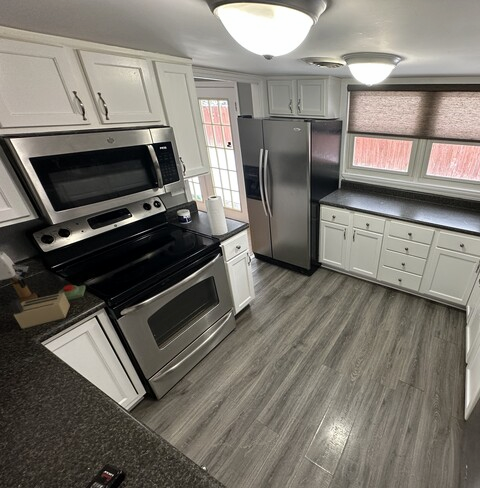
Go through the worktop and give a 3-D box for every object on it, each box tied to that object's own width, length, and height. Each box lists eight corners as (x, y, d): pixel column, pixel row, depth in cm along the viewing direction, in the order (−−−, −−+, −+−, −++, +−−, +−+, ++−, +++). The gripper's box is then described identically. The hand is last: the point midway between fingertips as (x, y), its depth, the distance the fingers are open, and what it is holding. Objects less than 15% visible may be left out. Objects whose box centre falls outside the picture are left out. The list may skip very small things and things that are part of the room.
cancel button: (63, 292, 130) (62, 289, 129) (65, 289, 133) (63, 286, 132) (73, 290, 132) (71, 287, 131) (74, 287, 134) (73, 284, 134)
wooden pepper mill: (20, 306, 125) (1, 274, 117) (17, 301, 128) (-2, 270, 120) (39, 299, 130) (23, 268, 122) (35, 295, 133) (19, 264, 125)
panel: (56, 303, 128) (53, 297, 126) (60, 294, 135) (57, 287, 133) (83, 297, 133) (80, 291, 131) (86, 288, 139) (83, 282, 138)
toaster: (22, 329, 112) (13, 314, 109) (29, 315, 120) (21, 301, 116) (65, 318, 119) (58, 304, 115) (70, 306, 126) (63, 292, 123)
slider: (15, 314, 109) (9, 304, 107) (17, 310, 111) (12, 300, 109) (21, 312, 110) (15, 303, 108) (23, 308, 112) (18, 299, 110)
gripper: (-58, 262, 91) (-30, 301, 99) (13, 251, 100) (34, 288, 107) (-46, 253, 97) (-20, 291, 104) (20, 243, 105) (39, 279, 113)
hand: (7, 289), depth 106 cm, fingers open, 9 cm apart
